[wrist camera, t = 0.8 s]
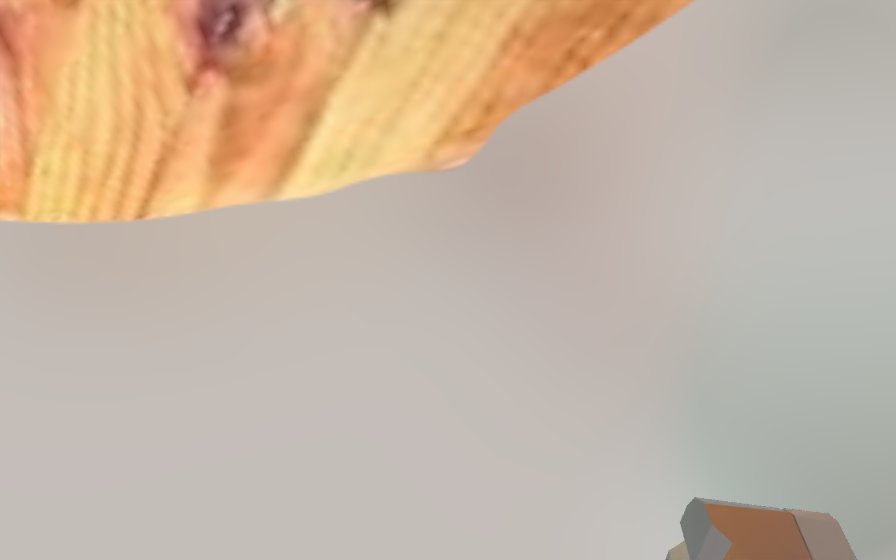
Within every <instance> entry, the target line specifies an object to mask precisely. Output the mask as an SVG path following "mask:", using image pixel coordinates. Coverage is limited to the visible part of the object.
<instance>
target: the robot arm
mask: <svg viewBox="0 0 896 560" xmlns="http://www.w3.org/2000/svg"><path fill="white" fill-rule="evenodd" d="M680 524H681V527H682V531H683V535H684V539H685V541H683V542H682V543H680V544H679V545H677V546H675V547H674V548H672V549H671V550H669V552H668V554H667V557H666V560H857V558H856V556H855V554H854V552H853V551H852V549H851V547H850V545H849V543H848V541H847V539H846V537H845V535H844V533H843V531H842V529H841V527H840V525H839V523H838V522H837V520H836V519H834V518H833V517H832V516H831V515H830V514H828V513H820V512H811V511H802V510H795V509H786V508H784V509H779V508H773V507H765V506H757V505H750V504H742V503H735V502H727V501H719V500H712V499H704V498H696V497H695V498H694V499H693V500H692V501H691V502H690V503H689V504H688V505H687V507H686V510H685V512H684V515H683V517H682V519H681V522H680Z"/></svg>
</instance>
